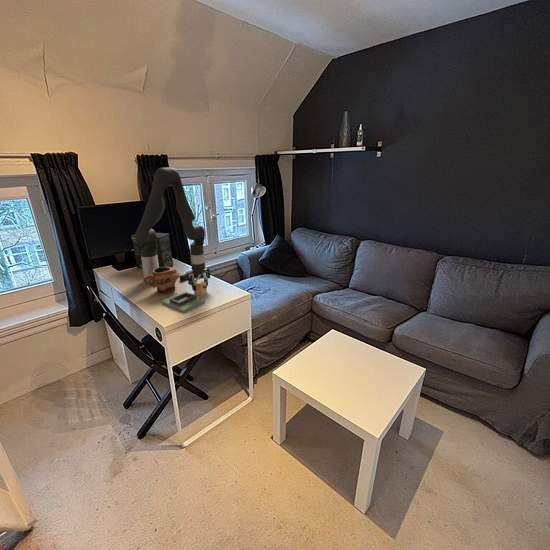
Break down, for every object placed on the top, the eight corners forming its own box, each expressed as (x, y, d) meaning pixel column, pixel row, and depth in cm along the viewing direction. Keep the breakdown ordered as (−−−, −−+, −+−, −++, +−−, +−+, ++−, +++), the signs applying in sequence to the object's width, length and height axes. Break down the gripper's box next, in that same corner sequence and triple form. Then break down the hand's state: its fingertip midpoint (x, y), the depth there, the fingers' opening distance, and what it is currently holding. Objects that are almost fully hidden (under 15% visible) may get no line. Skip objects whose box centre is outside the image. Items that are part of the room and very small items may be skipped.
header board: (161, 303, 159) (161, 297, 158) (182, 294, 170) (182, 288, 169) (184, 312, 150) (183, 306, 148) (204, 302, 160) (204, 296, 159)
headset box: (136, 268, 210) (130, 232, 201) (147, 262, 221) (142, 228, 211) (163, 271, 204) (158, 234, 195) (173, 266, 215) (169, 230, 205)
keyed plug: (204, 296, 167) (203, 285, 165) (193, 292, 172) (192, 281, 170) (209, 294, 170) (208, 283, 168) (198, 290, 175) (197, 279, 173)
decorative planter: (150, 300, 163) (146, 276, 158) (142, 292, 171) (138, 270, 166) (184, 290, 175) (182, 268, 170) (175, 284, 183) (173, 262, 178)
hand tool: (183, 282, 187) (182, 275, 186) (179, 280, 189) (178, 273, 188) (206, 273, 202) (205, 267, 200) (202, 272, 204) (201, 266, 202)
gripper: (202, 257, 172) (205, 283, 178) (183, 263, 161) (186, 291, 167) (212, 259, 168) (214, 285, 174) (192, 266, 157) (195, 294, 163)
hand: (200, 288), depth 170 cm, fingers open, 8 cm apart
